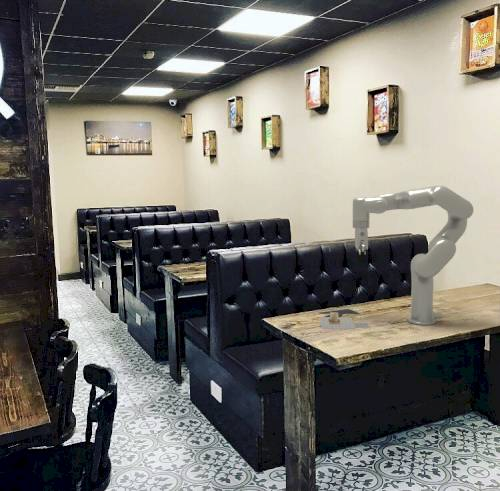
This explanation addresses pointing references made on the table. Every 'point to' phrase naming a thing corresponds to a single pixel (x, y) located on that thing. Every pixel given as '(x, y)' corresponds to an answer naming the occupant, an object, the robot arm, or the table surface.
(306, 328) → the table surface
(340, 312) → the picture frame
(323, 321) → the block
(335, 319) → the peg
